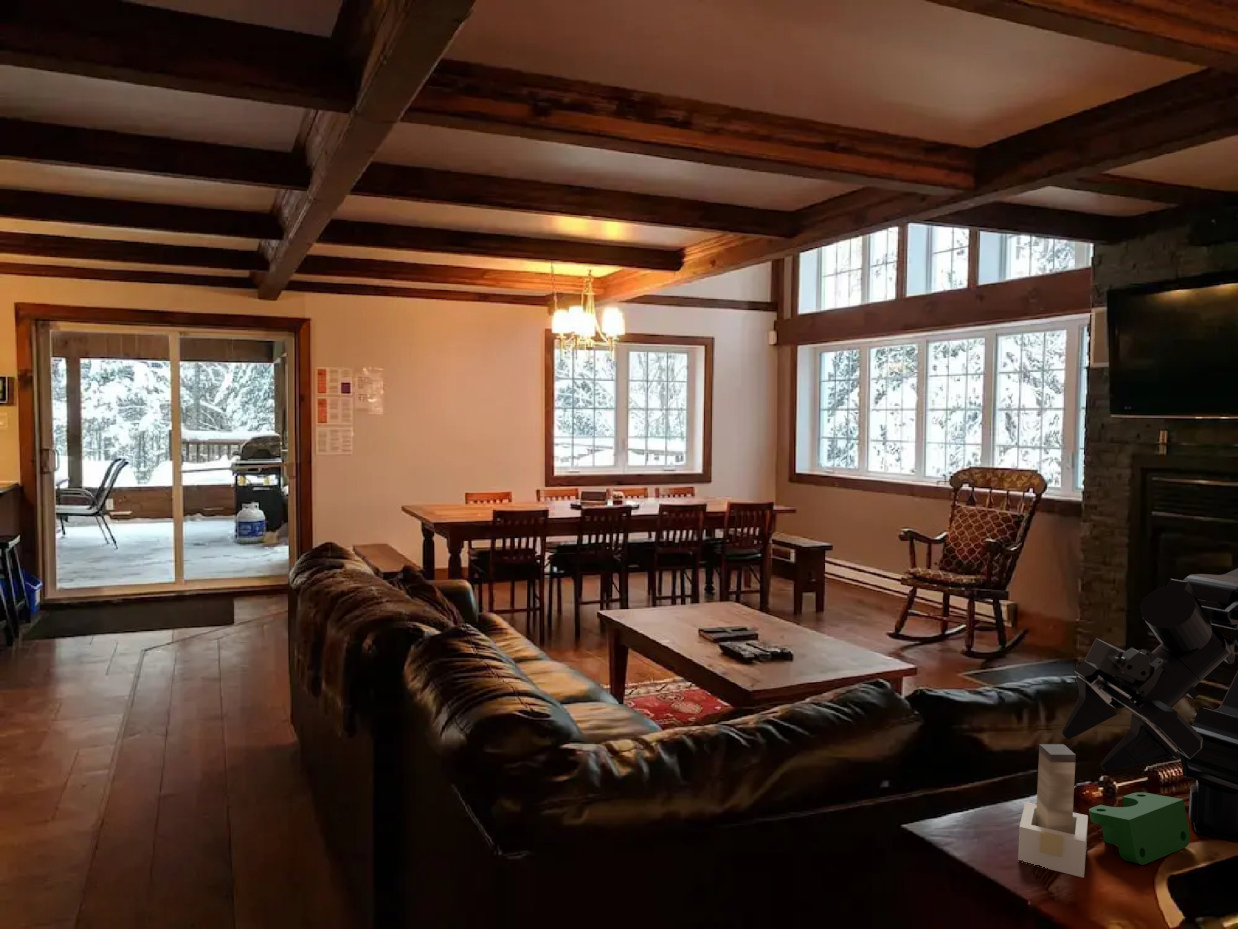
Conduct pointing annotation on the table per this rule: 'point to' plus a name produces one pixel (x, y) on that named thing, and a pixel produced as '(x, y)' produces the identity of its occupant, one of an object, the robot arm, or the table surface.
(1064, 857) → the white labeled box
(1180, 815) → the clamp
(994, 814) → the table surface
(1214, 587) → the robot arm
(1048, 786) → the tall wooden post
